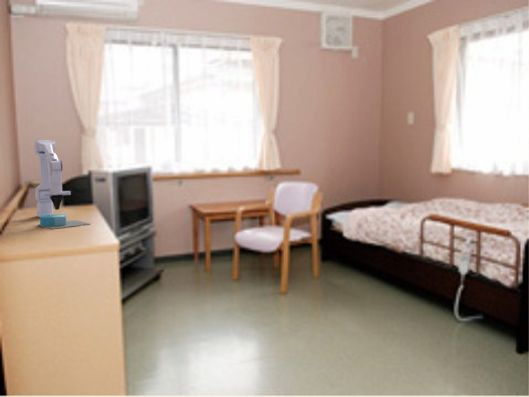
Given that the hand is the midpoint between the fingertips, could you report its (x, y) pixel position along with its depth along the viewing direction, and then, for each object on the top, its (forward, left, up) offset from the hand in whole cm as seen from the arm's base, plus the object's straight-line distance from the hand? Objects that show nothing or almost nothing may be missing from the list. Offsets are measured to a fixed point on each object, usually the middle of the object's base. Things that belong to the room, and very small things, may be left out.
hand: (57, 209), depth 245 cm
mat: (+8, 0, -7) cm, 11 cm away
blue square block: (-2, -1, -5) cm, 5 cm away
